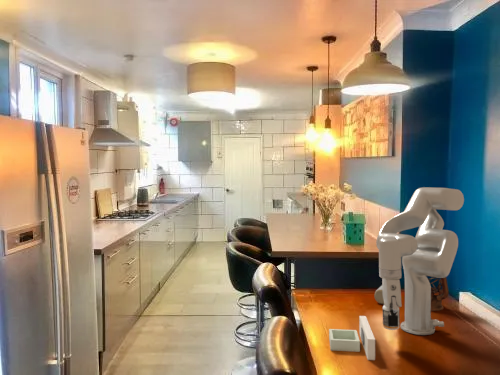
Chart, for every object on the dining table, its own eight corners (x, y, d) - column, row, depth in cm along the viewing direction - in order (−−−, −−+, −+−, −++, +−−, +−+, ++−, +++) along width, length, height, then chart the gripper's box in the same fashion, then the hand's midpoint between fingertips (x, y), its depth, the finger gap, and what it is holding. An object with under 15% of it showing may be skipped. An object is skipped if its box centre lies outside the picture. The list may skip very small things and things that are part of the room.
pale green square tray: (356, 339, 153) (356, 330, 153) (359, 351, 143) (359, 341, 143) (329, 338, 155) (329, 328, 154) (330, 350, 145) (330, 339, 145)
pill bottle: (386, 322, 151) (385, 296, 150) (402, 326, 148) (401, 299, 147) (380, 328, 147) (379, 301, 146) (396, 332, 143) (395, 304, 142)
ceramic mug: (373, 303, 195) (373, 287, 194) (379, 298, 201) (379, 283, 201) (395, 307, 188) (396, 291, 188) (401, 303, 195) (401, 287, 195)
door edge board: (365, 333, 159) (365, 316, 158) (375, 360, 137) (375, 339, 136) (358, 333, 159) (358, 315, 159) (366, 359, 137) (366, 339, 137)
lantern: (407, 308, 187) (407, 242, 186) (409, 299, 199) (409, 238, 198) (448, 313, 180) (449, 245, 179) (448, 304, 192) (448, 240, 191)
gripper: (407, 279, 137) (407, 332, 138) (396, 266, 154) (396, 313, 155) (383, 279, 138) (384, 332, 139) (375, 266, 155) (376, 312, 156)
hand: (391, 321), depth 147 cm, fingers closed on pill bottle, 5 cm apart
